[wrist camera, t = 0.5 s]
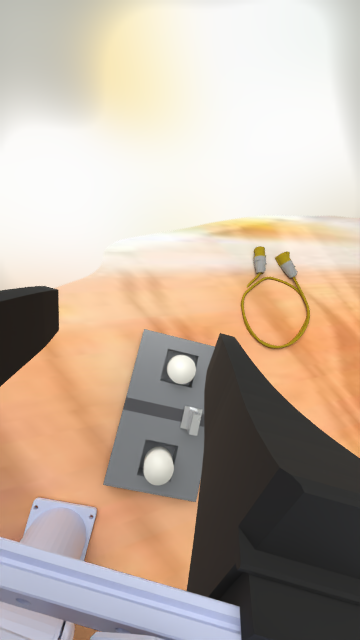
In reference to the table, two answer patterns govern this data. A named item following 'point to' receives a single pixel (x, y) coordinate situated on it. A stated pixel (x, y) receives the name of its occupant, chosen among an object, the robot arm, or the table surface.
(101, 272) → the table surface
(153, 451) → the button
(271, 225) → the table surface
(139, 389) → the switch panel
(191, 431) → the slider tab
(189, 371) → the button
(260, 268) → the extension cord
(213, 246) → the table surface
